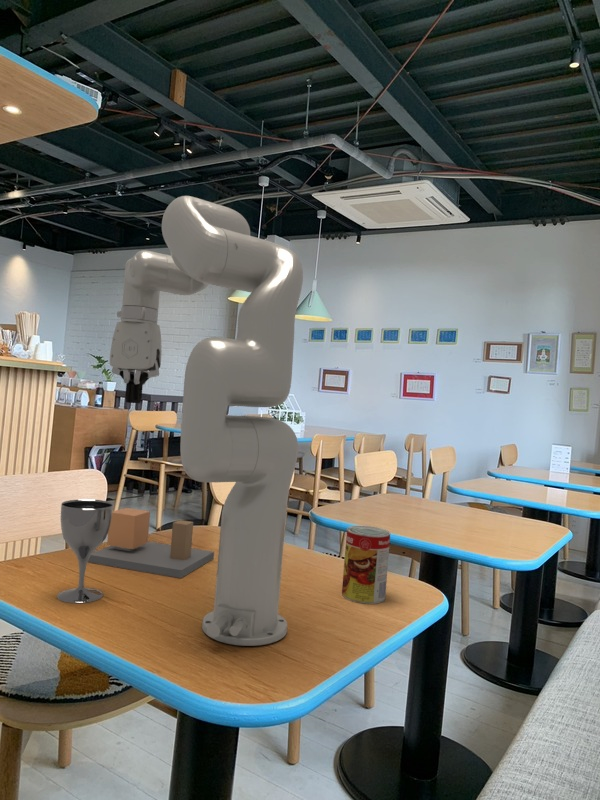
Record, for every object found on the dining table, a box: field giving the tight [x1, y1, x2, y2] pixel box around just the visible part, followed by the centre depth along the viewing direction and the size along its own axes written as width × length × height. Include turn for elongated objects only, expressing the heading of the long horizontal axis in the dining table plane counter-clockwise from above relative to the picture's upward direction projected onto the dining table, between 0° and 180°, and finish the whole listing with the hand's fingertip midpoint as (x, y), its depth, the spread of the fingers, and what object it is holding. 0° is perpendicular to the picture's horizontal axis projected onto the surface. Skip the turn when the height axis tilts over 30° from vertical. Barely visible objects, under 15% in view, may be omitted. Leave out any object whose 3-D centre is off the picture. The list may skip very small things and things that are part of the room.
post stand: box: [87, 519, 215, 579], centre depth 118 cm, size 15×20×8 cm
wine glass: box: [56, 498, 114, 604], centre depth 96 cm, size 8×8×15 cm
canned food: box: [341, 525, 391, 605], centre depth 107 cm, size 8×8×12 cm
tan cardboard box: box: [106, 507, 151, 549], centre depth 120 cm, size 6×6×7 cm
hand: (133, 402), depth 125 cm, fingers closed
